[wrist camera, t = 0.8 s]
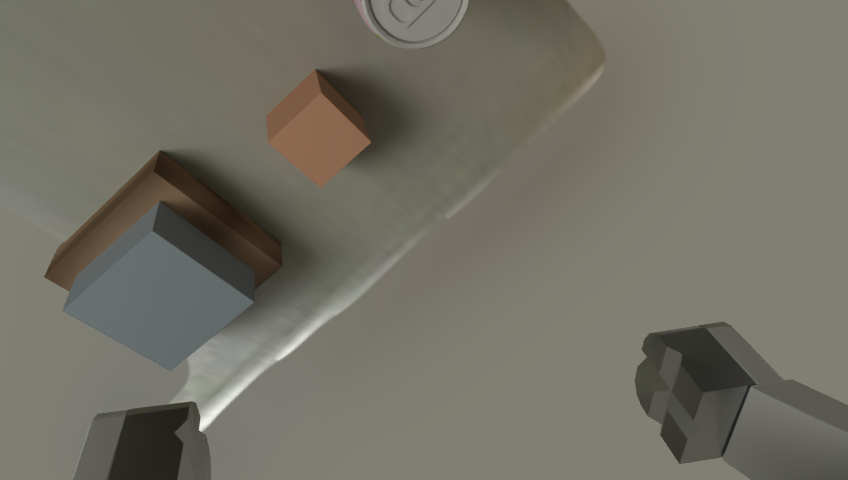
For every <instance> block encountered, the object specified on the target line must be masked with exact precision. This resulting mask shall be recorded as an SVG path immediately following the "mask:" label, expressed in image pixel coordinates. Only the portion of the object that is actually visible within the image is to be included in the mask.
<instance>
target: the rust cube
mask: <svg viewBox="0 0 848 480" xmlns="http://www.w3.org/2000/svg"><path fill="white" fill-rule="evenodd" d="M267 129H268V143H269V144H270V145H272V146H273V147H274V148H275V149H276V150H277V151H278V152H280V153H281V154H282V155H283V156H284V157H285V158H287V159H288V160H289V161H290V162H291V163H292V164H294V165H295V166H296V167H297V168H298V169H299V170H301V171H302V172H303V173H304V174H305V175H306V176H307V177H309V178H310V179H311V180H312V181H313V182H314V183H316V184H317V185H318V186H319V187H320V188H321V187H322V186H323V185H324V184H325V183H326V182H327V181H329V180H330V179H331V178H332V177H333V176H334V175H335V174H336V173H338V172H339V171H340V170H341V169H342V168H343V167H344V166H345V165H347V164H348V163H349V162H350V161H351V160H352V159H353V158H354V157H356V156H357V155H358V154H359V153H360V152H361V151H362V150H363V149H365V148H366V147H367V146H368V145H369V144H370V143H371V140H370V137H369V134H368V132H367V129H366V126H365V124H364V121H363V118H362V116H361V115H360V114H359V113H358V112H357V111H356V110H355V109H354V108H353V107H352V106H351V105H350V104H349V103H348V102H347V101H346V100H345V99H344V98H343V97H342V96H341V95H340V94H339V93H338V92H337V91H336V90H335V89H334V88H333V87H332V86H331V85H330V84H329V83H328V82H327V81H326V80H325V79H324V78H323V77H322V76H321V75H320V74H319V73H318V72H317V71H316V70H314V71H313V72H312V73H311V74H310V75H309V76H308V77H307V78H306V79H305V80H303V81H302V82H301V83H300V84H299V85H298V86H297V87H296V88H295V89H294V90H293V91H292V92H291V93H290V94H289V95H288V96H287V97H286V98H284V99H283V100H282V101H281V102H280V103H279V104H278V105H277V106H276V107H275V108H274V109H273V110H272V111H271V112H270V113H269V114H268V115H267Z"/></svg>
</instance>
